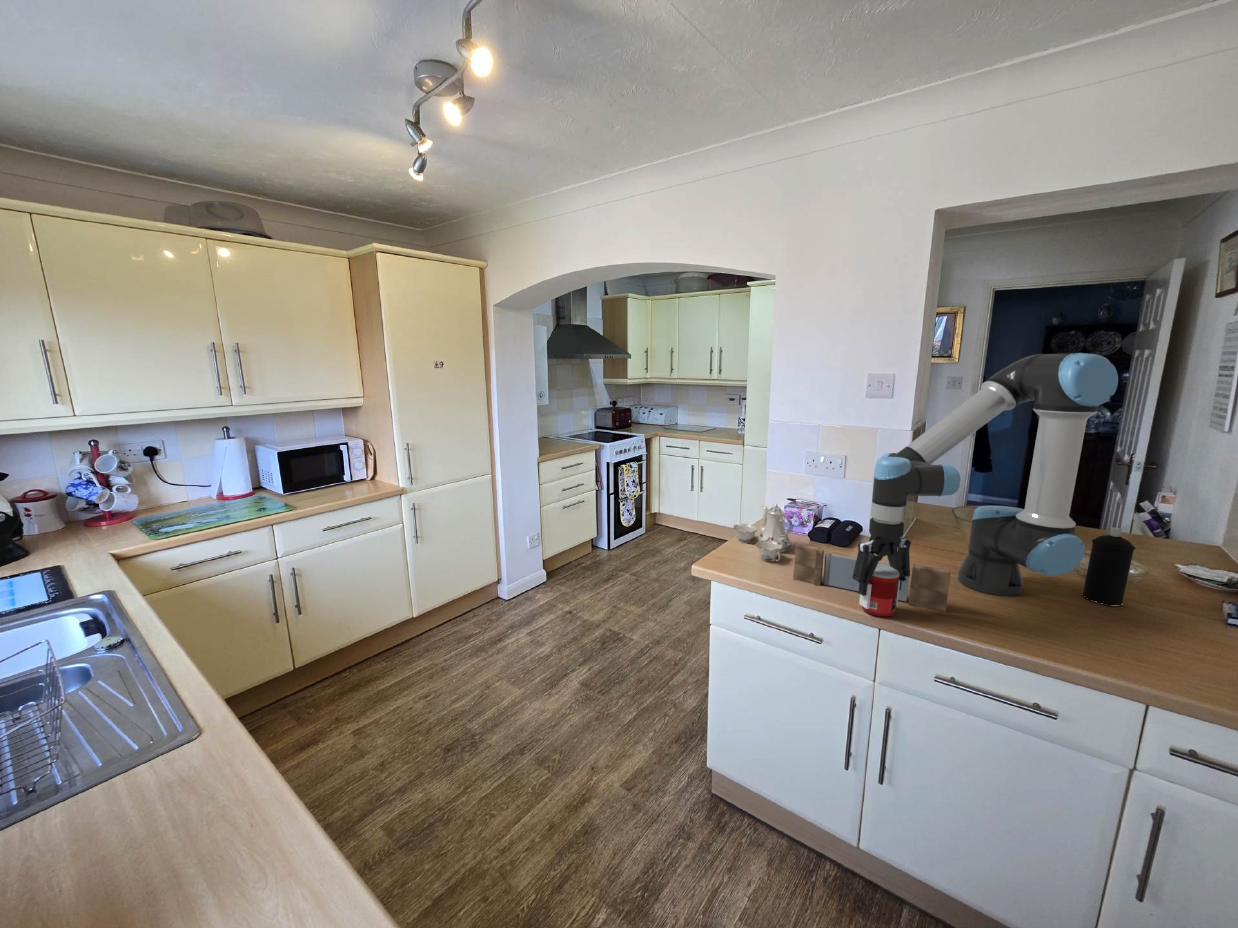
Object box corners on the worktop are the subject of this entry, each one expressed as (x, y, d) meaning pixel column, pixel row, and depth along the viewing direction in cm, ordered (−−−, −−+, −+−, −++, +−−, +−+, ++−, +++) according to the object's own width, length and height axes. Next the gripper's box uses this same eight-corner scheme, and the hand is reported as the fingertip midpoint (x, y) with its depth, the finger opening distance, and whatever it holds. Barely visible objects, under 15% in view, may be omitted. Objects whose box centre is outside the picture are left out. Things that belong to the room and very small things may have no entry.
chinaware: (725, 542, 183) (722, 499, 179) (765, 533, 187) (763, 491, 183) (768, 572, 156) (765, 523, 152) (813, 561, 160) (812, 512, 157)
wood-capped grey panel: (945, 607, 130) (950, 570, 128) (945, 612, 127) (950, 574, 125) (795, 576, 149) (797, 543, 147) (792, 580, 147) (795, 546, 145)
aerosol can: (1109, 608, 128) (1124, 535, 124) (1073, 594, 136) (1086, 525, 132) (1131, 604, 131) (1147, 532, 127) (1094, 590, 138) (1108, 522, 134)
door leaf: (906, 599, 134) (910, 568, 132) (906, 601, 132) (910, 570, 130) (823, 581, 145) (825, 552, 143) (822, 584, 143) (824, 554, 141)
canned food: (899, 618, 124) (904, 577, 121) (864, 615, 125) (868, 574, 123) (889, 603, 131) (893, 564, 129) (857, 601, 132) (860, 562, 130)
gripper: (910, 511, 129) (900, 592, 134) (840, 518, 124) (833, 602, 129) (934, 520, 122) (923, 605, 126) (861, 527, 117) (853, 616, 122)
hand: (878, 604), depth 128 cm, fingers closed on canned food, 8 cm apart
